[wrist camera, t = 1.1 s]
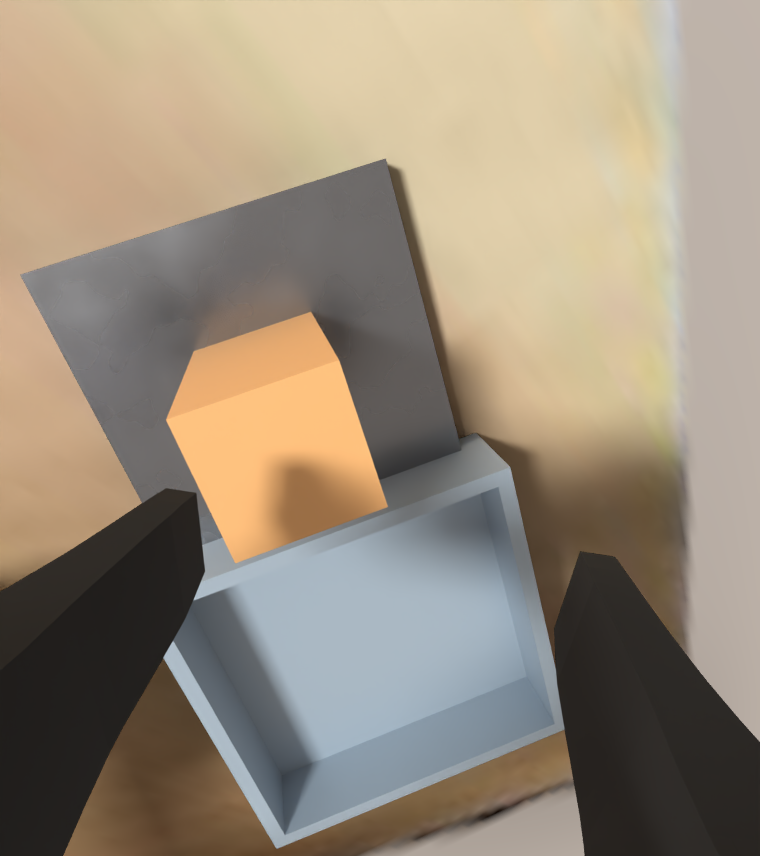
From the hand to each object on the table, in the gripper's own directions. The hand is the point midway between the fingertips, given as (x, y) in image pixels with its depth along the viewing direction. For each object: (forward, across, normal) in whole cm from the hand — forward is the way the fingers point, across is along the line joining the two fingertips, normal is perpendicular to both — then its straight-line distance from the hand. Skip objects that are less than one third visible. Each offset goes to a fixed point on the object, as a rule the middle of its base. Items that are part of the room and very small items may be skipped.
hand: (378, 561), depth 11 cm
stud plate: (+11, +5, +2) cm, 12 cm away
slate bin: (+10, +1, +13) cm, 17 cm away
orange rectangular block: (+10, +5, +2) cm, 11 cm away
